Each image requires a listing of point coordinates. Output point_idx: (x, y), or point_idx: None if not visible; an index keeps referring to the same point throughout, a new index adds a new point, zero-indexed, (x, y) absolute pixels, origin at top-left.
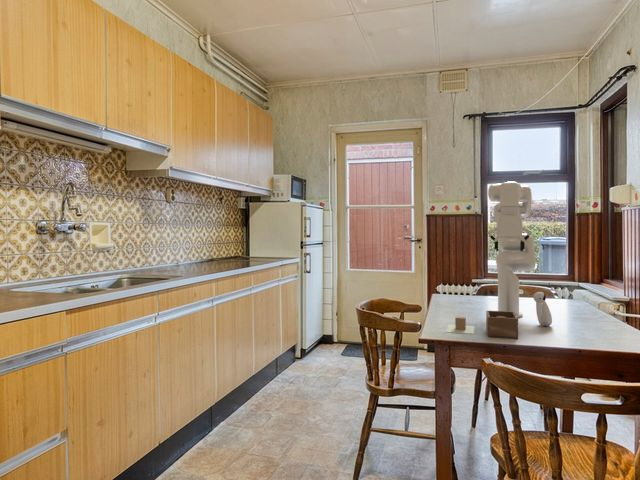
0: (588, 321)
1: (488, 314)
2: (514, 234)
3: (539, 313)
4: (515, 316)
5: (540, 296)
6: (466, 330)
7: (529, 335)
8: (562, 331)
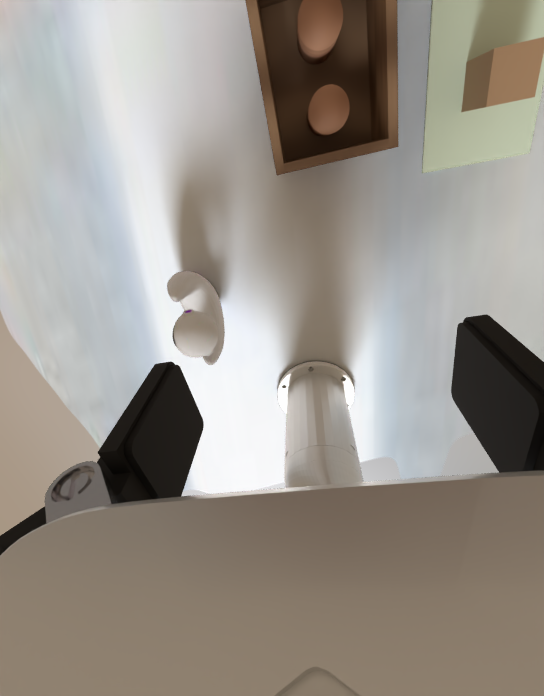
0: (123, 392)
1: (390, 19)
2: (162, 568)
3: (213, 319)
4: (258, 33)
5: (186, 318)
6: (462, 58)
7: (223, 112)
8: (146, 239)
